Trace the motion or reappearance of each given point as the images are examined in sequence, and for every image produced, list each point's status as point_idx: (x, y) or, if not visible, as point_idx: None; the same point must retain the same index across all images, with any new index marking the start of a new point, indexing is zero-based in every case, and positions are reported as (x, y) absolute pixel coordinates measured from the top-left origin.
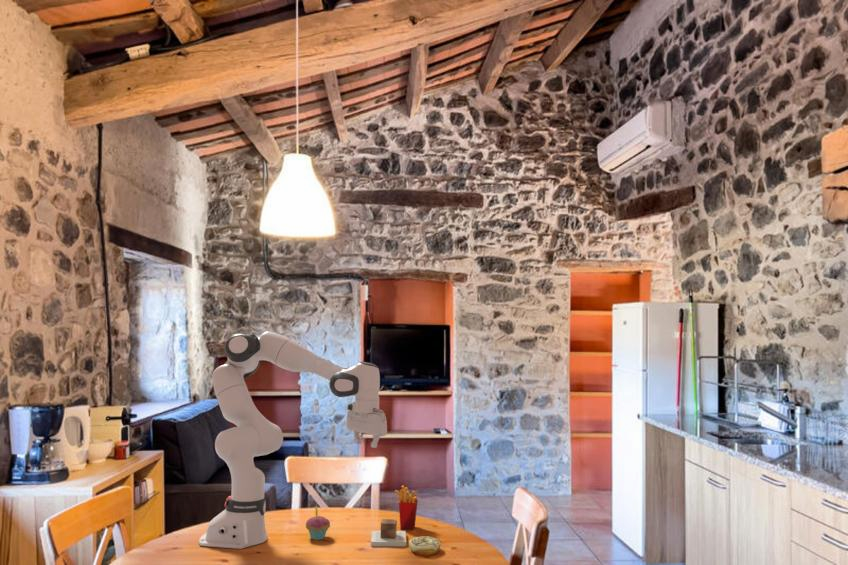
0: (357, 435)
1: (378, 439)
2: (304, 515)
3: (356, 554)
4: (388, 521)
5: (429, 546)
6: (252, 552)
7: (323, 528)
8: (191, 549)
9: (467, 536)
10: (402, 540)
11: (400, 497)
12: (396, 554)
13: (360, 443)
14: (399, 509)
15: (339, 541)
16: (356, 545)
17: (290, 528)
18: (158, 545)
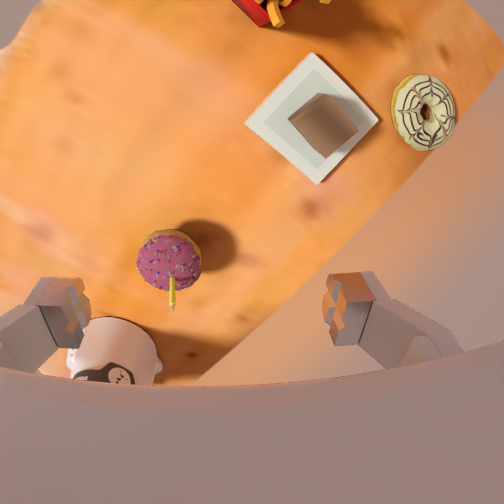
0: (20, 351)
1: (428, 325)
2: (6, 186)
3: (329, 237)
4: (329, 128)
5: (451, 133)
6: (188, 360)
7: (201, 262)
8: None
9: None
10: (365, 118)
11: (279, 14)
12: (390, 173)
13: (83, 285)
14: (267, 22)
15: (231, 218)
16: (283, 203)
17: (81, 258)
18: None
